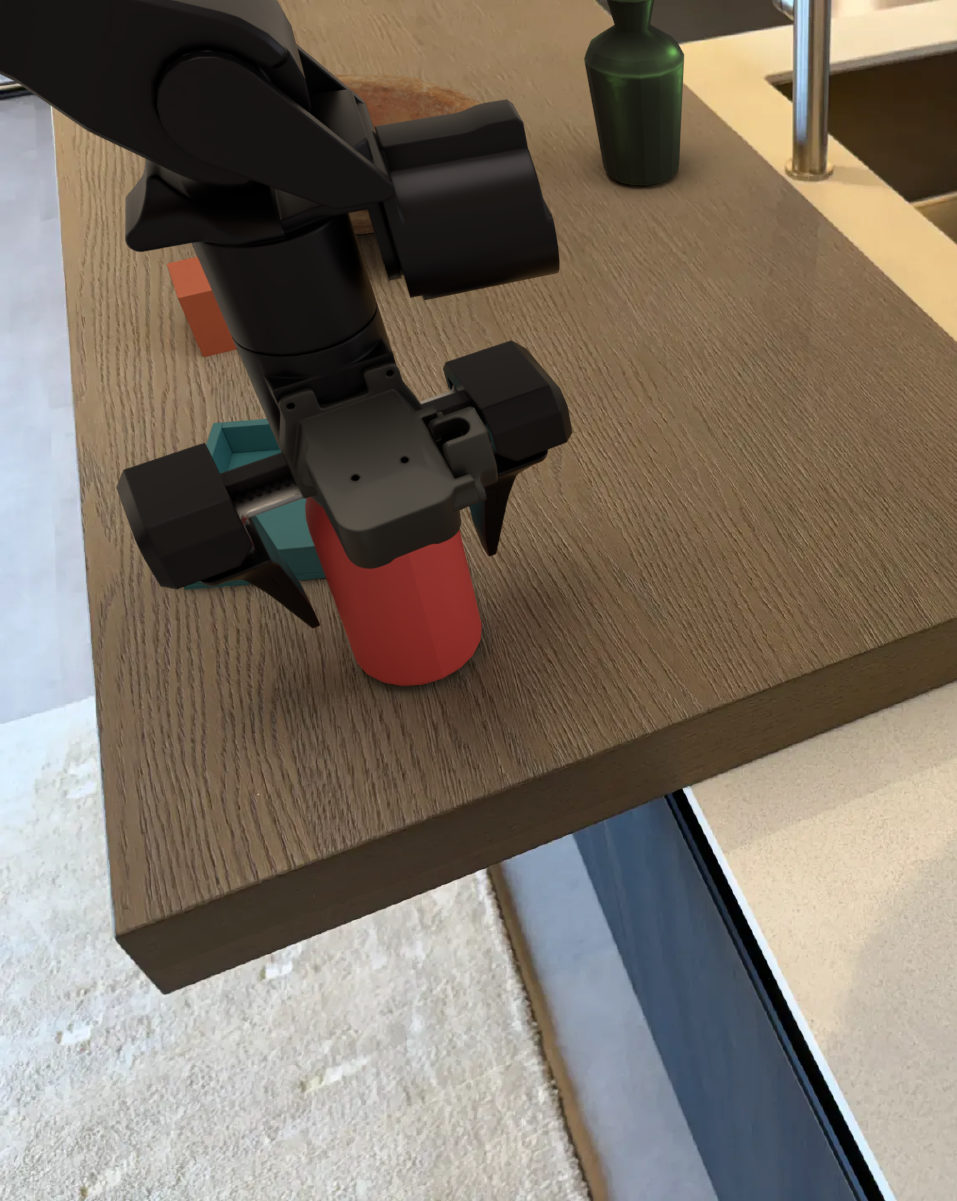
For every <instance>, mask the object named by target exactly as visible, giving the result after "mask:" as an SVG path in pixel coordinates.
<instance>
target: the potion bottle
mask: <svg viewBox="0 0 957 1201" xmlns="http://www.w3.org/2000/svg"><path fill="white" fill-rule="evenodd" d="M606 3H607V5H608V8H609V12H610V15H611V19H612V21H613V25H612V26H610V27H608V28H607V29H605V30H603V31H602V32H600V33H599V34H597V35H595V36H594V37H593V38H591V40H590V41H589V43H588V46H587V49H586V50H585V53H584V54H585V55H584V57H583V60H584V66H585V67H584V68H585V71H586V78H587V83H588V87H589V96H590V98H591V99H590V100H591V105H592V110H593V117H594V123H595V127H596V133H597V138H598V144H599V149H600V156H601V160H602V166H603V169H604V170H605V172H606V174H607V175H608V176H609V177H610V178H612V179H613V180H615V181H617V182H619V183H622V184H626V185H631V186H651V185H658V184H661V183H663V182H666V181H668V180H670V179H671V178H672V177H674V175H675V174H677V173H678V172H679V167H680V157H681V156H680V154H681V136H682V135H681V132H682V112H683V93H684V92H683V90H684V73H685V72H684V71H685V70H684V68H685V53H684V51H683V49H682V48H681V46H680V44H679V42H678V41H677V40H676V39H675V38H674V37H673V35H670V33H667V32H665V31H663V30H662V29H660V28H658V27H656V26H654V25H652V24H651V21H652V16H653V12H654V11H653V10H654V5H655V4H654V3H655V0H606Z"/></svg>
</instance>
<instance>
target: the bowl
mask: <svg viewBox="0 0 957 1201" xmlns="http://www.w3.org/2000/svg"><path fill="white" fill-rule="evenodd" d="M333 75H334V76H336V77H337V78H338V79H339V80H340V81H341V82H343V83H344V84H345V85H346V86H347V87H349V88H350V89H351V90H352V91H353V92H355V93H356V94H357V95H358V96H359V97H361V98H362V99H363V100H364V101H365V103H366V105H367V108H368V111H369V114H370V117H371V120H372V123H373V126H374V129H375V126H379V125H385V124H392V123H398V122H404V121H410V120H416V119H422V118H428V117H434V116H440V115H446V114H452V113H457V112H461V111H463V110H466V109H468V108H470V107H473V106H475V105H478V104H482V103H483V102H481V101H479V99H476V98H475V97H473V96H471V95H468V94H466V93H463V92H461V91H458V90H455V89H452V88H450V87H447V86H443V85H439V84H434V83H431V82H426V81H424V80H422V79H420V78H418V77H412V76H405V75H393V74H379V75H378V74H333ZM375 132H376V131H375ZM349 215H350V218H351V221H352V224H353V228H354V231H355V234H356V235H366V234H375V233H374V230H373V226H372V223H371V220H370V216H369V213H368V210H363V211H357V212H352V213H349Z"/></svg>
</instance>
